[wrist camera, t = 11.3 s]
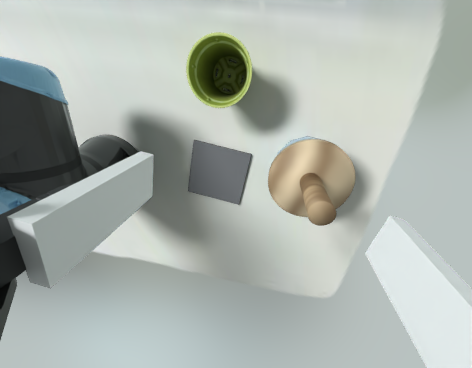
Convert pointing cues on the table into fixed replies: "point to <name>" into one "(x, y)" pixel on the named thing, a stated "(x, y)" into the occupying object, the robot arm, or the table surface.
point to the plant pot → (217, 56)
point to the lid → (311, 179)
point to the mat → (218, 171)
